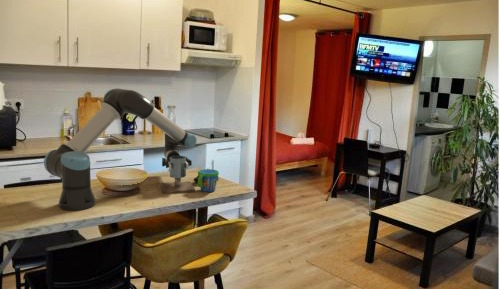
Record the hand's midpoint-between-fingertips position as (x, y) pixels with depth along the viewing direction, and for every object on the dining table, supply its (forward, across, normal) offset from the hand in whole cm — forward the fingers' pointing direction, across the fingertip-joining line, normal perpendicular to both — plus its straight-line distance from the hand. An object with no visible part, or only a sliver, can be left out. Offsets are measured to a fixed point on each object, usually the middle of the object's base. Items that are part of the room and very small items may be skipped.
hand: (179, 166), depth 210 cm
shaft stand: (-5, 0, -13) cm, 14 cm away
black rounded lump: (-15, -15, -13) cm, 25 cm away
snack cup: (+1, -15, -13) cm, 20 cm away
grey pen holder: (-5, 0, -6) cm, 8 cm away
